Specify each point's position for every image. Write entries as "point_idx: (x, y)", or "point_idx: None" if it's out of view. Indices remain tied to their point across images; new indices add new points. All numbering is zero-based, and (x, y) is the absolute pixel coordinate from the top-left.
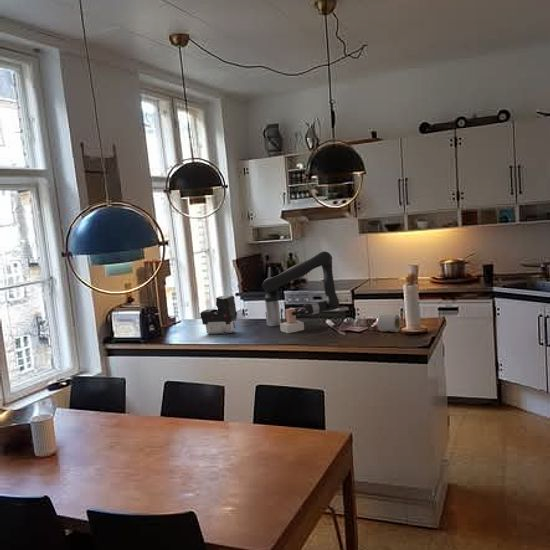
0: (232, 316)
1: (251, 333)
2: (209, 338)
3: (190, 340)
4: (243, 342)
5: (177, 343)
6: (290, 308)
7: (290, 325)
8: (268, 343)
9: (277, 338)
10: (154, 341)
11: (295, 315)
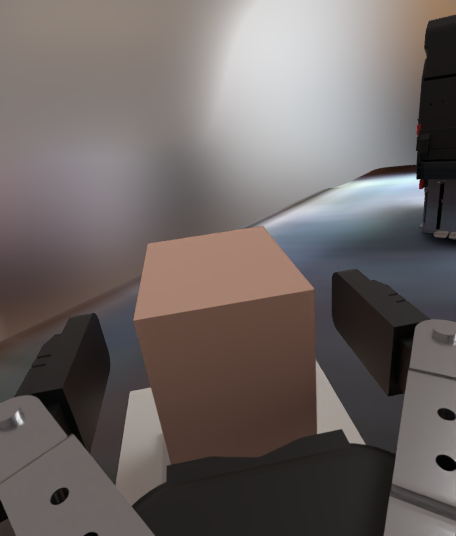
0: (447, 150)
1: (399, 290)
2: (370, 212)
3: (368, 194)
4: None
5: (343, 186)
6: (284, 267)
7: (125, 436)
8: (57, 329)
9: (115, 377)
10: (402, 168)
11: (169, 455)
